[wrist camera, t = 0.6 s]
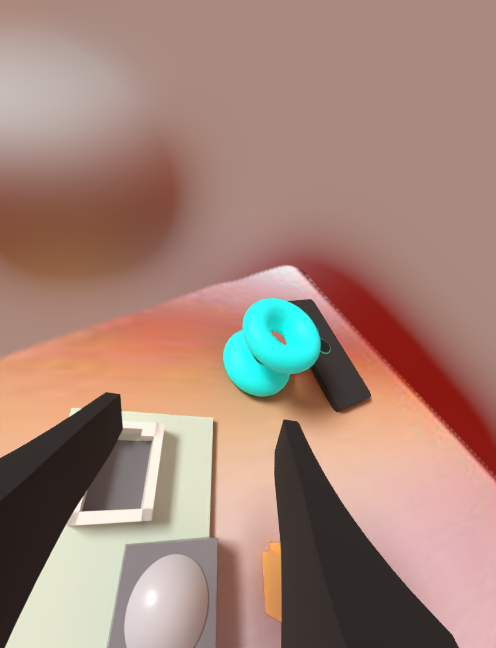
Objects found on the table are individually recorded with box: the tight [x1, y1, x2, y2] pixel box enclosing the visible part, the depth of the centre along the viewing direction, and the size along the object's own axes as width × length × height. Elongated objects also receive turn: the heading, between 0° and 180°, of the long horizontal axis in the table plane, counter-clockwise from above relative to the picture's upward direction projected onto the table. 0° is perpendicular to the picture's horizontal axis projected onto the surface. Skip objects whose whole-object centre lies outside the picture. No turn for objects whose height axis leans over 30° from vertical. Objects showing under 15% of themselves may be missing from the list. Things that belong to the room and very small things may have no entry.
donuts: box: [223, 298, 321, 396], centre depth 33 cm, size 10×10×10 cm
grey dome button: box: [107, 537, 218, 648], centre depth 19 cm, size 7×7×3 cm
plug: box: [262, 541, 282, 623], centre depth 21 cm, size 5×3×7 cm, turn 3°
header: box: [66, 421, 165, 526], centre depth 22 cm, size 8×6×2 cm
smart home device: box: [288, 299, 371, 412], centre depth 44 cm, size 8×2×20 cm
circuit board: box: [5, 408, 213, 648], centre depth 22 cm, size 18×14×1 cm
